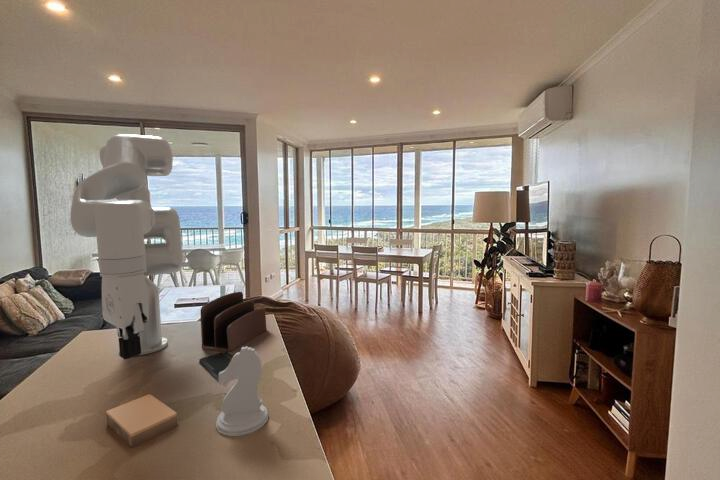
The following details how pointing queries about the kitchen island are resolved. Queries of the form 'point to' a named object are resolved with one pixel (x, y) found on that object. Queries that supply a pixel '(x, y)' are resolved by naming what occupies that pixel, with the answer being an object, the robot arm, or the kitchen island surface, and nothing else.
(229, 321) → the letter holder
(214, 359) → the phone
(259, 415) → the chess piece
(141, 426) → the tan flat block
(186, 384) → the kitchen island surface
